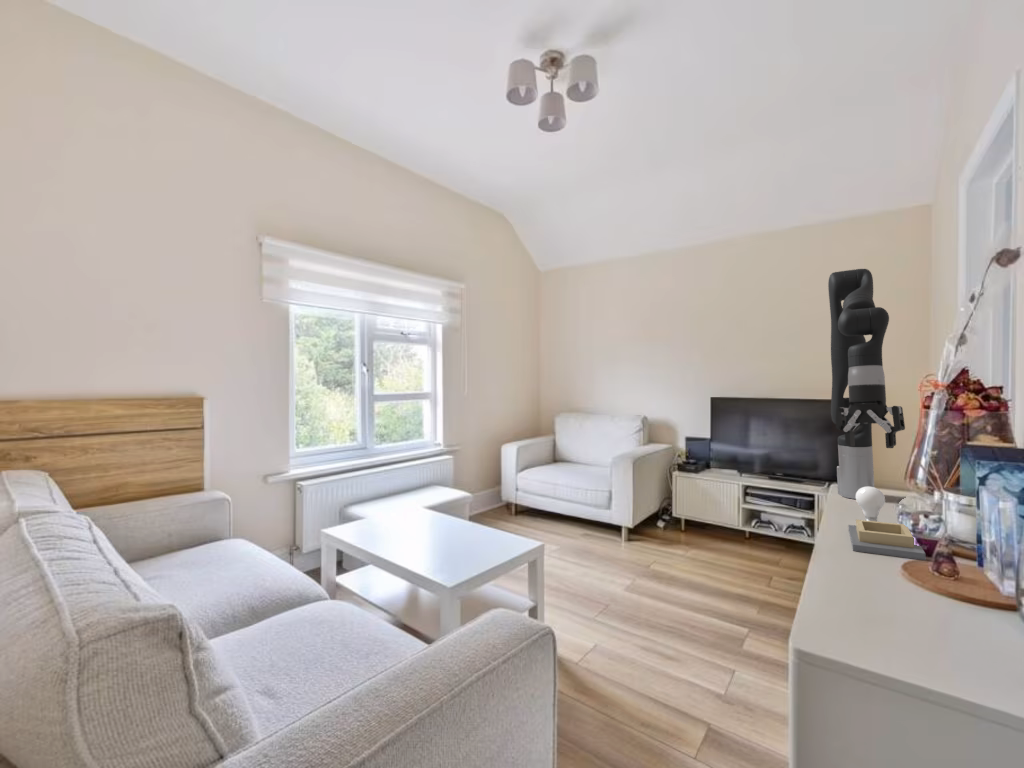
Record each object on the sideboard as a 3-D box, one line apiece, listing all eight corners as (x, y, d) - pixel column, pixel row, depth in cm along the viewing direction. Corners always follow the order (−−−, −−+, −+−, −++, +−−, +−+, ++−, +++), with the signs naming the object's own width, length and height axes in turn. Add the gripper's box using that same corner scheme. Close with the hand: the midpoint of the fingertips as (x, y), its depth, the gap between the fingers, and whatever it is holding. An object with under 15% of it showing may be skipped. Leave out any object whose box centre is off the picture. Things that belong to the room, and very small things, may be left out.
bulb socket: (848, 530, 122) (847, 515, 122) (912, 537, 115) (911, 521, 115) (853, 550, 108) (852, 534, 108) (925, 560, 101) (924, 542, 101)
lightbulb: (862, 530, 121) (861, 489, 121) (852, 522, 127) (850, 483, 127) (891, 531, 119) (889, 489, 119) (879, 523, 126) (877, 484, 125)
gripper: (907, 383, 113) (911, 448, 111) (843, 386, 126) (846, 445, 124) (892, 381, 110) (896, 449, 108) (828, 385, 122) (831, 446, 121)
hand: (869, 447), depth 116 cm, fingers open, 8 cm apart
